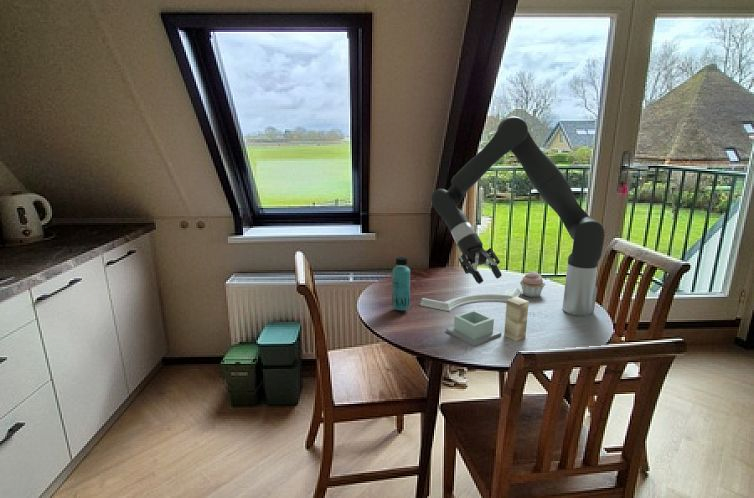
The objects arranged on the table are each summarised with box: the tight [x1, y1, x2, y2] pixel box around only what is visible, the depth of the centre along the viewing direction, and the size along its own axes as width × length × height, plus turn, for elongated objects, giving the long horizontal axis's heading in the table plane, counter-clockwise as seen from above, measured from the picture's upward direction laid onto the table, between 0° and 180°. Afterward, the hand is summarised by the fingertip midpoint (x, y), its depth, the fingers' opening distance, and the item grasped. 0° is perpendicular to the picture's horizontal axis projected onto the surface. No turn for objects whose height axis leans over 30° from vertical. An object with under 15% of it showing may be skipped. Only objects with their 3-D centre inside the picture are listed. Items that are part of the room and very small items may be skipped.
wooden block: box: [503, 296, 529, 342], centre depth 127 cm, size 4×4×12 cm
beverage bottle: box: [391, 256, 411, 311], centre depth 145 cm, size 6×7×20 cm
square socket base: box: [445, 309, 502, 347], centre depth 130 cm, size 12×12×6 cm
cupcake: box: [519, 269, 546, 298], centre depth 159 cm, size 9×9×10 cm
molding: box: [419, 286, 523, 312], centre depth 155 cm, size 42×12×3 cm, turn 104°
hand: (490, 279), depth 133 cm, fingers open, 8 cm apart
